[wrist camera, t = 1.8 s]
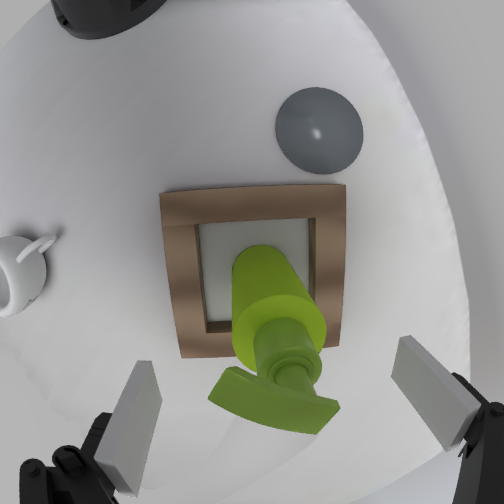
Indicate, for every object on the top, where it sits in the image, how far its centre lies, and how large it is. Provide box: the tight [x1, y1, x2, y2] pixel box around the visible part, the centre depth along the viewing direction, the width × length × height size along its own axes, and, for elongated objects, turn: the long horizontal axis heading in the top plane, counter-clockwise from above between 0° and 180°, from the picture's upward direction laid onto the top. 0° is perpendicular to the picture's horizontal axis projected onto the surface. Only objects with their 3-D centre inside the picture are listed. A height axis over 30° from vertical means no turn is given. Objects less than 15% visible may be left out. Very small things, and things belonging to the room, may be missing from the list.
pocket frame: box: [159, 184, 346, 358], centre depth 29 cm, size 17×17×2 cm
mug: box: [0, 233, 57, 317], centre depth 24 cm, size 12×8×8 cm
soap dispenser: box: [208, 245, 340, 434], centre depth 20 cm, size 6×7×20 cm
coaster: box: [276, 87, 363, 174], centre depth 26 cm, size 9×9×1 cm
